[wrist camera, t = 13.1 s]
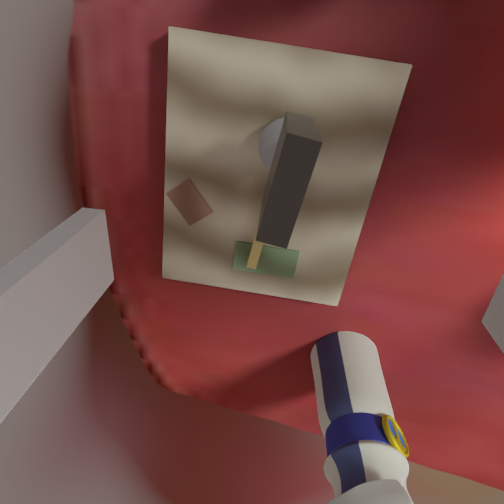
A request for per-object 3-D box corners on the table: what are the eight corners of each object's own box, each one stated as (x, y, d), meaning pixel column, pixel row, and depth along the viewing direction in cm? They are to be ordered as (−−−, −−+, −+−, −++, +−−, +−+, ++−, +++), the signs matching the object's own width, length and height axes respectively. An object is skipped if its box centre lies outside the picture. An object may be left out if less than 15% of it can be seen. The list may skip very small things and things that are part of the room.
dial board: (175, 27, 29) (167, 25, 27) (404, 64, 28) (413, 64, 27) (167, 267, 39) (161, 278, 37) (335, 295, 39) (337, 307, 37)
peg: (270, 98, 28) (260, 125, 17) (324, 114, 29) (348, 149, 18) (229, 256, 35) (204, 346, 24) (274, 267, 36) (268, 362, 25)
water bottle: (354, 314, 40) (438, 630, 18) (394, 362, 43) (510, 688, 21) (293, 347, 43) (300, 655, 21) (334, 390, 46) (379, 703, 24)
